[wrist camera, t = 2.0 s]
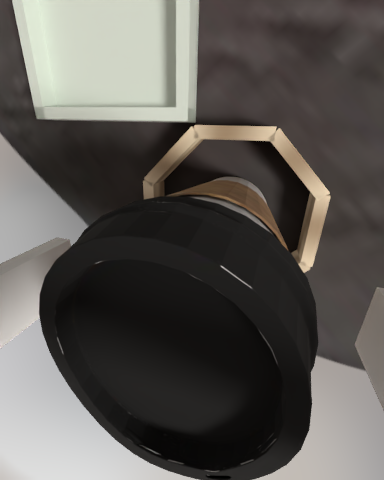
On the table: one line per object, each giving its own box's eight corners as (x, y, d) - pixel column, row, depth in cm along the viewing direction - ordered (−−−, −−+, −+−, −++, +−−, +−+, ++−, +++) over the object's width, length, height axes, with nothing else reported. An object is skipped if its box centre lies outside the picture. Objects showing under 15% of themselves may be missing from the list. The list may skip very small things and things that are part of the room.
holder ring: (153, 125, 18) (139, 123, 16) (337, 129, 15) (348, 128, 13) (158, 269, 23) (148, 282, 21) (297, 293, 20) (300, 310, 18)
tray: (15, -114, 15) (-19, -147, 13) (204, -164, 12) (193, -215, 10) (56, 120, 20) (36, 118, 18) (195, 122, 17) (187, 121, 16)
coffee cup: (209, 273, 22) (123, 484, 9) (160, 191, 20) (-40, 297, 7) (303, 238, 19) (401, 500, 5) (256, 135, 17) (220, 132, 3)
